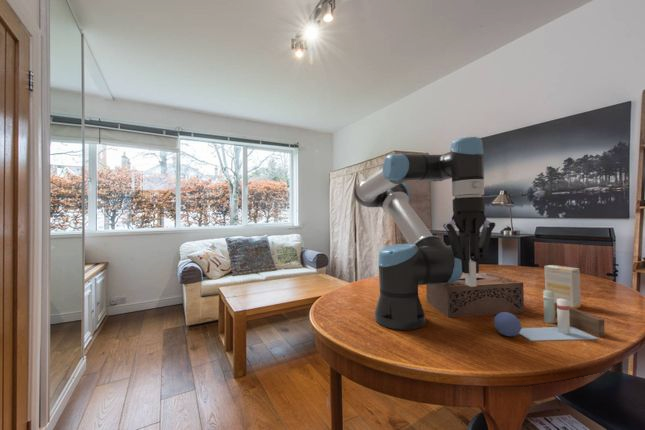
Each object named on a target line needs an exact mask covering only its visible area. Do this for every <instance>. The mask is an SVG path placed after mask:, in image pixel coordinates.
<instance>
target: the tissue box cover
mask: <svg viewBox="0 0 645 430" xmlns="http://www.w3.org/2000/svg"><path fill="white" fill-rule="evenodd" d="M425 290H426V291H425V292H426V303H427V304H429V305H430V306H431V307H433V308H434V309H436V310H437V311H439V312H440V313H441V314H443V315H445V316H446V317H447V318H454V317H471V316H487V315H488V316H489V315H497V314H499V313H501V312H508V313H511V314H517V313H518V314H519V313H525V302H524V299H525V297H524V293H525V292H524V282H522V281H519V280H516V279H513V278H510V277H506V276H504V275H500V274H496V273H494V272H483V273H479V272H478V273H476V287H470V286H468V285H466V284H465V273H463V274H462V276H461V277H460V279H458V280H457V281H455V282H449V283H439V284H427V285H425Z"/></svg>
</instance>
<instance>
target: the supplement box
mask: <svg viewBox="0 0 645 430" xmlns="http://www.w3.org/2000/svg"><path fill="white" fill-rule="evenodd" d="M543 269H544V283H545V284H544V288H545V289H544V290H548V291H553V292H554V305H555V303H557V299H566V300H569V306H570V307H572V308H575V309H579V308H581V307H582V297H581V294H582V293H581V274H580V273H581V272H580V268H577V267H572V266H563V265H556V264H549V265H548V264H547V265H544V268H543Z"/></svg>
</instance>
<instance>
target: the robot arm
mask: <svg viewBox="0 0 645 430" xmlns="http://www.w3.org/2000/svg"><path fill="white" fill-rule="evenodd" d="M483 145H484V144H483V140H482V139H481V138H480V137H477V136H468V137H461V138H457V139H455V140H453V141H452V142H451V143H450V151H449V152H446V153H443V154H409V153H407V154H405V153H395V154H389V155H386V156H385V158H384V161H383V163H382V168H381V169H379V170H378V171H376V172H375V173H374V174H372V175H371V176H370V177H369V178H365V179H362V180H360V181H359V182H358V183H357V184H356V185H355V186H354V188H353V196H354V197H353V198H354V199H355V201H356V202H357V203H358V204H360V206H364V207H366V208H382V210H383V212H384V213H385V214H387V215H390V216H391V218H392V220H394V223H395V224H396V226H397V228H398V229H399V231H400V232H401V234H402V235H403V237H404V239H405V241H406V242H407V243H396V244H391V245H387V246H384V247H382V248H381V249H380V250H379V252H378V261H377V262H378V263H377V265H378V277H379V278H378V280H379V282H378V283H379V297H378V300H377V302H376V306H375V310H374V320H375V322H376V323H378V325H380V326H382V327H384V328H389V329H392V330H398V331H411V330H416V329H420V328H422V327H424V326H425V324H426V314H425V311H424V308H423V305H422V303H421V300H420V296H419V286H426V285H427V284H439V283H449V282H455V281H457V280H458V279H460V277H461V276H462V274H465V284H466V285H468V286H470V287H476V274H479V272H480V263H481V261H482V259H484V260H485V259H487V255H488V251H489V246H490V240H491V238H492V237H491V236H492V231H493V230H494V228H495V227H496V223H495V222H492V221H489V220H487V216H486V214H485V210H486V207H485V206H486V205H485V204H486V203H485V201H486V200H485V198H484V197H483V196H484V195H485V175H484V173H485V171H484V170H485V169H484V166H485V165H484V154H485V151H484V147H483ZM450 179H451V195H452V197H454V198H453V199H452V212H453V214H452V216H451V220H450V221H449V222H446V223H444V224H443V226H442V227H443V228H444V230H446V233H447V236H448V239H449V240H448V241H449V243H450V245H446V243H445V242H444V240H443V239H442V238H441V237H440V236H438V235H433V234H432V232H431V231H430V230H429V229H428V227H427V226H426V224H425V223H424V222H423V220H421V217H420V216H419V215H418V214H417V213H416V211H415V210H414V208H413V207H412V206H411V204H410V197H411V194H410V193H411V192H410V191H409V190H410V189H409V187H408V185H407V184H406V183H405V182H407V181H430V182H443V181H444V180H445V181H446V180H450ZM456 228H457V229H458V234H457V231H456ZM458 235H459V237H458ZM479 262H480V263H479Z"/></svg>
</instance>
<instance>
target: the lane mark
mask: <svg viewBox="0 0 645 430" xmlns="http://www.w3.org/2000/svg"><path fill="white" fill-rule="evenodd" d="M518 335H520V336H522V337H524V338H525V339H527V340H528V341H530V342H543V341H545V342H547V341H549V342H550V341H578V340H579V341H580V340H582V341H583V340H584V341H585V340H599V337H597V336H595V335H593V334H590V333H588V332H586V331H584V330H582V329H580V328H577V327H575V326H574V327H573V326H570V335H564V334H561V333H559V332H558V326H554V327H553V326H550V327H544V326H543V327H521V330H520V332H519V333H518Z"/></svg>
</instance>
